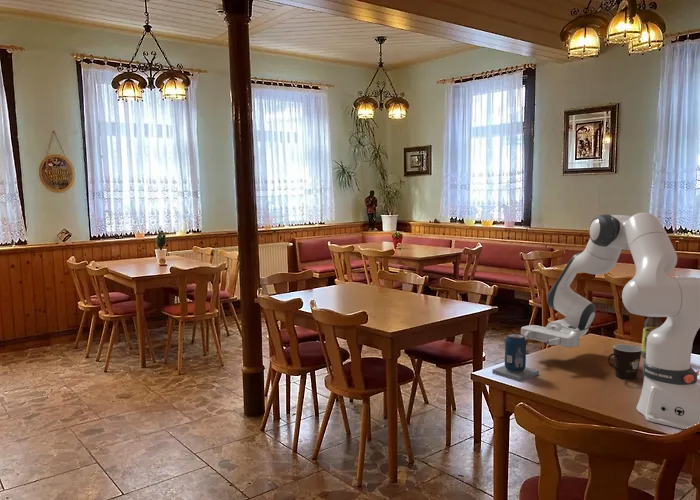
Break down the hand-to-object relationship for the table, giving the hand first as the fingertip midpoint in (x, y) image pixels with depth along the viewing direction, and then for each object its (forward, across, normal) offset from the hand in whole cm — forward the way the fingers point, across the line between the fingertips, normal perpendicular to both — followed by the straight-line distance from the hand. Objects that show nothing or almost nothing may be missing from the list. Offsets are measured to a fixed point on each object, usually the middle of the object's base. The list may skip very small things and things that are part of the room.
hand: (536, 339), depth 204 cm
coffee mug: (-12, +25, +10) cm, 29 cm away
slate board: (+12, 0, +10) cm, 15 cm away
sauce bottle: (-41, +22, +10) cm, 48 cm away
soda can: (+12, 0, +8) cm, 15 cm away
